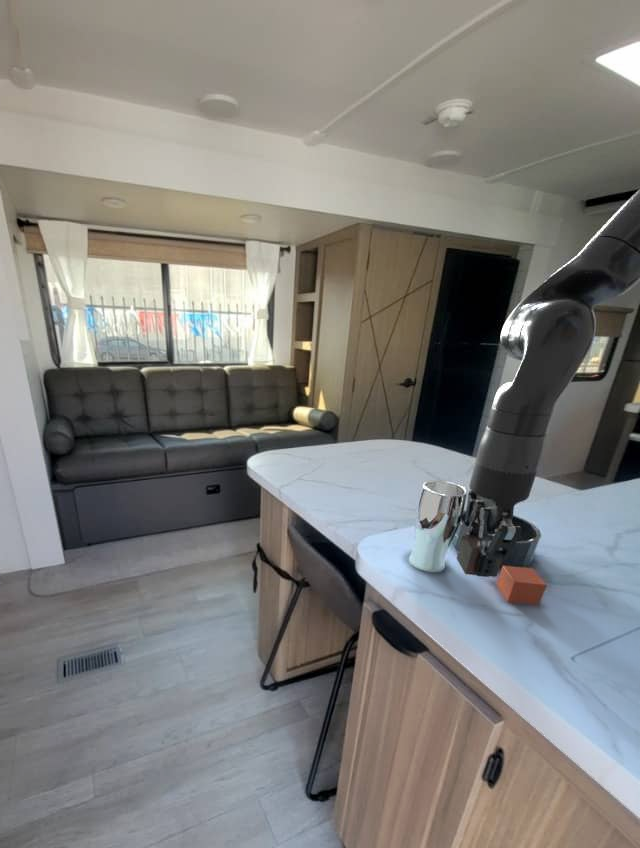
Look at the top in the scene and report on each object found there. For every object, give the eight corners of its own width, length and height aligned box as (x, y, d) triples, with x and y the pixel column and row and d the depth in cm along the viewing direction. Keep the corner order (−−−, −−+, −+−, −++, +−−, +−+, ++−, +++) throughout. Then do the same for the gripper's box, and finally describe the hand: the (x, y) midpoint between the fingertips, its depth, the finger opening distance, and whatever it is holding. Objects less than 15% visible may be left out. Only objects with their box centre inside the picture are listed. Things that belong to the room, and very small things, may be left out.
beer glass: (411, 551, 76) (428, 476, 69) (451, 564, 72) (472, 486, 66) (399, 568, 71) (416, 489, 64) (441, 582, 67) (464, 500, 60)
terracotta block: (524, 591, 65) (533, 568, 63) (537, 609, 61) (547, 585, 59) (494, 588, 66) (502, 565, 64) (505, 606, 62) (514, 582, 60)
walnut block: (485, 560, 65) (493, 536, 63) (496, 576, 61) (504, 551, 59) (456, 558, 66) (462, 534, 64) (465, 574, 62) (472, 549, 60)
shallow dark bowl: (511, 538, 81) (520, 511, 78) (543, 576, 69) (556, 546, 67) (442, 532, 83) (449, 506, 80) (463, 568, 71) (471, 539, 68)
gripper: (563, 482, 49) (521, 596, 56) (513, 448, 62) (485, 544, 69) (497, 478, 50) (465, 591, 57) (461, 445, 63) (439, 541, 70)
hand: (476, 565), depth 63 cm, fingers closed on walnut block, 4 cm apart
